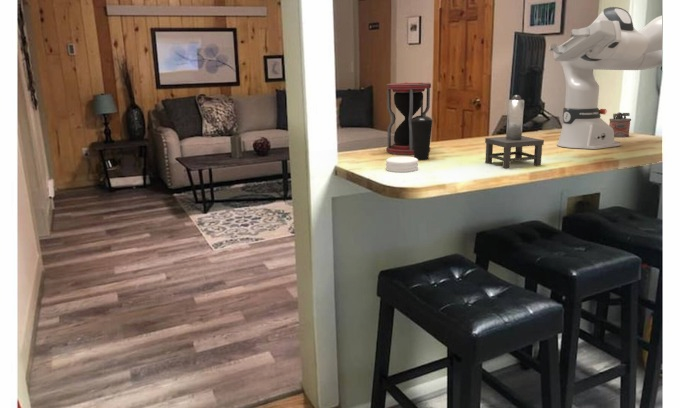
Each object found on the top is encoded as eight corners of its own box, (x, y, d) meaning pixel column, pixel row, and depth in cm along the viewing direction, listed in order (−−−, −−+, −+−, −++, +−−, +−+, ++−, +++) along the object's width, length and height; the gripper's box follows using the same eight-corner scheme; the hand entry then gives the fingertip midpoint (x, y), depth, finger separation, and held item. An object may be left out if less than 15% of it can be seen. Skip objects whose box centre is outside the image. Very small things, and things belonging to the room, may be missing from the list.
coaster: (379, 170, 164) (379, 159, 163) (399, 165, 171) (399, 155, 170) (404, 174, 157) (404, 163, 156) (424, 169, 164) (424, 158, 163)
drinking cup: (419, 156, 185) (419, 98, 180) (437, 158, 180) (438, 99, 175) (405, 159, 180) (405, 100, 175) (423, 161, 175) (424, 101, 170)
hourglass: (433, 154, 188) (434, 83, 181) (388, 155, 188) (388, 84, 181) (426, 147, 203) (427, 81, 197) (384, 148, 203) (384, 83, 197)
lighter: (609, 137, 215) (611, 113, 212) (606, 136, 218) (609, 112, 215) (630, 137, 213) (633, 112, 211) (627, 136, 217) (630, 112, 214)
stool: (519, 159, 174) (520, 135, 171) (541, 165, 162) (543, 140, 160) (484, 162, 170) (485, 138, 168) (505, 169, 159) (506, 143, 157)
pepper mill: (515, 137, 167) (518, 94, 164) (524, 139, 163) (527, 94, 160) (503, 138, 166) (505, 94, 162) (511, 140, 161) (515, 95, 158)
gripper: (574, 49, 171) (537, 46, 167) (623, 17, 151) (583, 13, 148) (576, 67, 170) (540, 64, 166) (625, 38, 150) (585, 34, 147)
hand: (560, 40), depth 157 cm, fingers open, 8 cm apart
